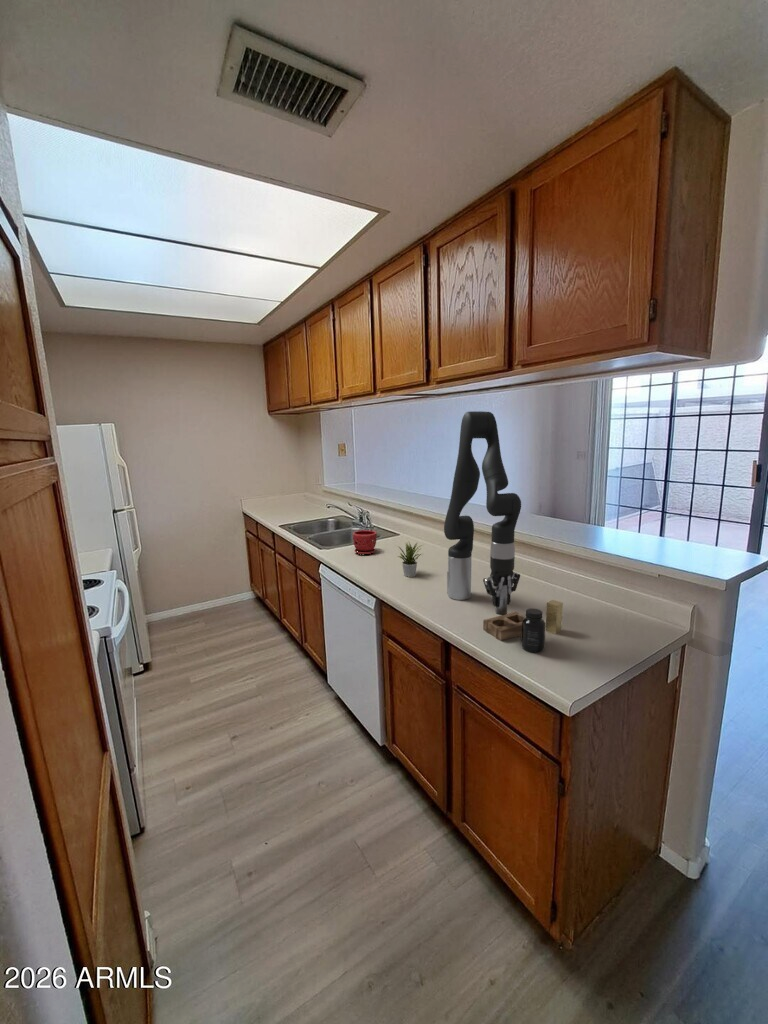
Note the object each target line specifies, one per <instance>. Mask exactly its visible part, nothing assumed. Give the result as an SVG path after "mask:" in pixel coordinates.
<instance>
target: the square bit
mask: <svg viewBox="0 0 768 1024" xmlns="http://www.w3.org/2000/svg"><path fill="white" fill-rule="evenodd" d="M563 605H564V602H561V601H558V600H554V599H551V600H549V601H547V602H546V613H545V614H546V615H545V632H547V633H550V634H553V635H558V634H559V633H560V632H562V627H563V626H562V622H563Z"/></svg>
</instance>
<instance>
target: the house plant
mask: <svg viewBox="0 0 768 1024" xmlns="http://www.w3.org/2000/svg"><path fill="white" fill-rule="evenodd" d="M422 546H423V544H421V545H419V546H418V542H416V543H415V544H414V546H412V545H411V543H410V541H409V540H408V541H407V542H405V552H404V550H403V549H402V548H401V547H400V546H399V545H396V547H398V549H399V550H400V551H401V552H402V553H401V552H399V554H400V555H398V556H397V557H398V558H400V559H401V560H403V561H402V562H401V564H402V570H403V574H404V575H405V576H404V575H403V576H404V577H406V576H408V577H407V578H414V577H415V576H416V573H417V566H418V561H417V560H418V558H419V557H420V556H422V557H423V554H422V553H420V554H419V553H418V552H420V550H423V549H425V548H424V547H423V548H421V547H422ZM413 576H414V577H413Z"/></svg>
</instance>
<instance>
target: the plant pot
mask: <svg viewBox="0 0 768 1024" xmlns="http://www.w3.org/2000/svg"><path fill="white" fill-rule="evenodd" d="M377 538H378V537H377V532H376V531H373V530H356V531H354V532H353V533H352V541H353V542H352V543H353V545H354V548H355V549H354V553H355V552H356V553H355V554H357V553H358V554H357V555H359V554H370V555H372V554H371V553H373V554H374V553H375V552H376V549H375V547H376V545H377ZM357 551H358V552H357Z"/></svg>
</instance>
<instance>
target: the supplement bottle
mask: <svg viewBox="0 0 768 1024" xmlns="http://www.w3.org/2000/svg"><path fill="white" fill-rule="evenodd" d="M520 644H521V647H522V649H523V650H524V651H527V652H529V653H541V652H543V651H544V650H545V645H546V621H545V620H544V619H543V611H542V610H540V609H538V608H527V609H526V610H525V618H524V619H523V620H522V635H521V643H520Z"/></svg>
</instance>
